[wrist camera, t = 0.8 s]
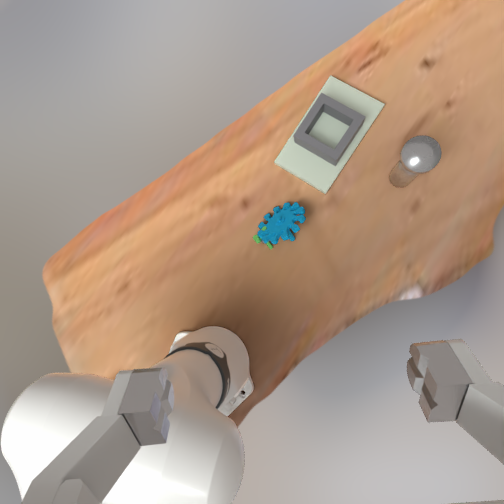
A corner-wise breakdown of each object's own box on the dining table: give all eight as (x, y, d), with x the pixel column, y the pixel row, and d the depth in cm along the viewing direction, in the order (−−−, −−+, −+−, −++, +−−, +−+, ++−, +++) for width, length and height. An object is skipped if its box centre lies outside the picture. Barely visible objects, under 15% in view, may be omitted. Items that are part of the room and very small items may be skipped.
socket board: (325, 194, 68) (326, 188, 63) (274, 163, 70) (271, 155, 65) (383, 107, 67) (388, 94, 62) (330, 78, 69) (331, 64, 64)
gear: (296, 191, 67) (308, 220, 60) (309, 212, 71) (322, 242, 63) (248, 219, 70) (253, 250, 63) (263, 238, 74) (270, 270, 66)
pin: (405, 197, 65) (427, 178, 52) (378, 182, 66) (394, 160, 53) (422, 172, 65) (449, 147, 52) (395, 157, 66) (415, 129, 53)
